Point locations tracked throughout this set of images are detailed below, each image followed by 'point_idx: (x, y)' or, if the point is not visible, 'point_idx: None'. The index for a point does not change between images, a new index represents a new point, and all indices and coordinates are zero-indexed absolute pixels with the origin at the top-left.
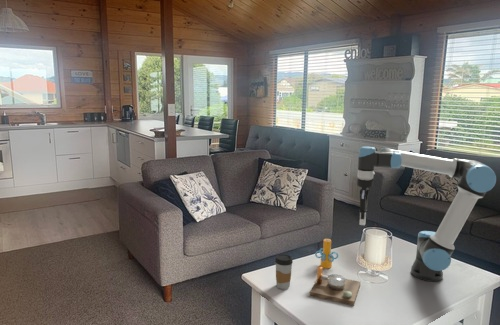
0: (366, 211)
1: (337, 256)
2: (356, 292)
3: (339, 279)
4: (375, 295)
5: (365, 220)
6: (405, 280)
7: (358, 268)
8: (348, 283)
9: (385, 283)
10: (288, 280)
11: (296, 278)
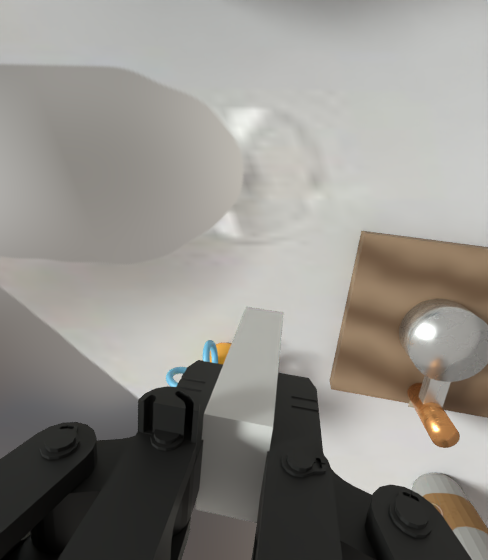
0: (195, 416)
1: (212, 344)
2: (474, 249)
3: (462, 335)
4: (439, 166)
5: (251, 333)
6: (251, 18)
7: (200, 238)
8: (394, 282)
9: (311, 119)
10: (469, 504)
11: (361, 453)
